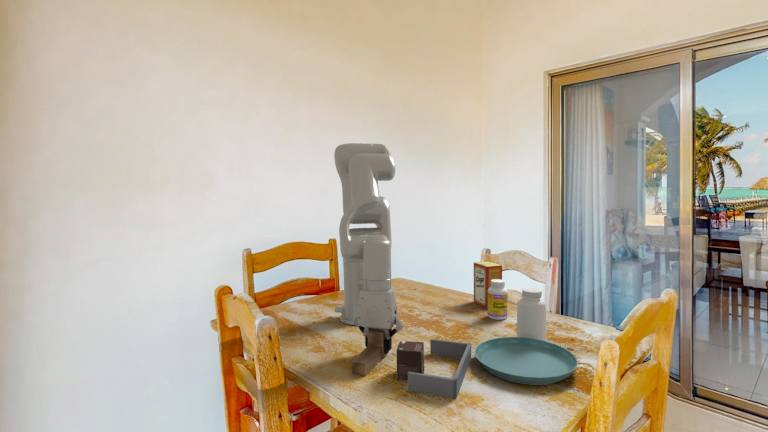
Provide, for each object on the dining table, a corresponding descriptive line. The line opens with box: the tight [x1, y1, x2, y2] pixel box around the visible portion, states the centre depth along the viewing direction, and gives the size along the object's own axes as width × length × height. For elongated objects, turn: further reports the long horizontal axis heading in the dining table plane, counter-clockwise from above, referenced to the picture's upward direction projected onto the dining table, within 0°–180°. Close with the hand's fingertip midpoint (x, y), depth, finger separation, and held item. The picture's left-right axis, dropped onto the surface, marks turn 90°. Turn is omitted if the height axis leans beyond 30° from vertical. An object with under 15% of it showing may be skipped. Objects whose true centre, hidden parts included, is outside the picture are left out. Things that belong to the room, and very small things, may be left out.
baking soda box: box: [473, 261, 503, 309], centre depth 154 cm, size 10×6×16 cm
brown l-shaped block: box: [351, 328, 390, 377], centre depth 104 cm, size 4×15×7 cm, turn 159°
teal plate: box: [474, 336, 579, 386], centre depth 101 cm, size 24×24×3 cm
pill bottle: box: [516, 287, 547, 341], centre depth 117 cm, size 8×8×15 cm
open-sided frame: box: [407, 338, 472, 400], centre depth 97 cm, size 11×22×4 cm, turn 159°
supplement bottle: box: [487, 279, 509, 321], centre depth 138 cm, size 7×7×13 cm
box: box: [396, 340, 425, 381], centre depth 96 cm, size 6×6×7 cm
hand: (378, 350), depth 109 cm, fingers closed on brown l-shaped block, 4 cm apart
